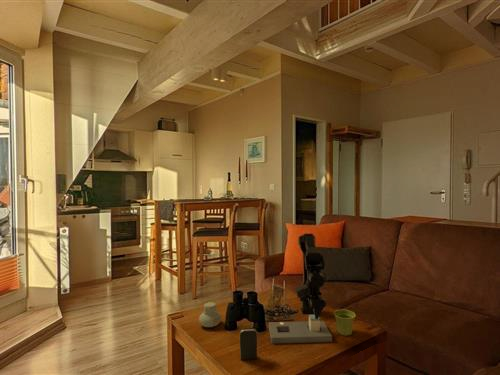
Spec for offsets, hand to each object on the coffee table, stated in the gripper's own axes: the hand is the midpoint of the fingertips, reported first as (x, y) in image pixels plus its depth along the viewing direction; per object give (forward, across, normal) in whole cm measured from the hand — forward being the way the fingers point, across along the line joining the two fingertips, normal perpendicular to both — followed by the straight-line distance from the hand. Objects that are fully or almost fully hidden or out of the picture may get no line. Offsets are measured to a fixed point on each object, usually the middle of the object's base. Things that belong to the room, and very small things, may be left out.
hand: (314, 314), depth 137 cm
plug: (+9, 0, 0) cm, 9 cm away
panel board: (+9, 0, -7) cm, 11 cm away
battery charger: (+9, +17, -30) cm, 36 cm away
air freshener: (+9, -11, -48) cm, 50 cm away
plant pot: (+9, 0, +14) cm, 17 cm away
